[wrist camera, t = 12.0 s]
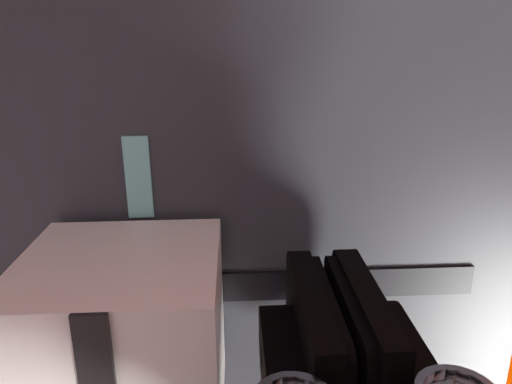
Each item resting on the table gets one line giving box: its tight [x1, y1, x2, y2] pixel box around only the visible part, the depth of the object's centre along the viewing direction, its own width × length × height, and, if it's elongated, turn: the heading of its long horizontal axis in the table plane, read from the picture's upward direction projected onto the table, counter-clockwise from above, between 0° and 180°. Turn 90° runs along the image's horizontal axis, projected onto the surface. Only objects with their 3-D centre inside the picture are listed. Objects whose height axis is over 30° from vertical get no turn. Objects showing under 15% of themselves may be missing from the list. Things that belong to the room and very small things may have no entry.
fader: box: [0, 219, 225, 384], centre depth 10 cm, size 4×4×4 cm
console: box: [0, 0, 512, 384], centre depth 12 cm, size 20×18×2 cm
